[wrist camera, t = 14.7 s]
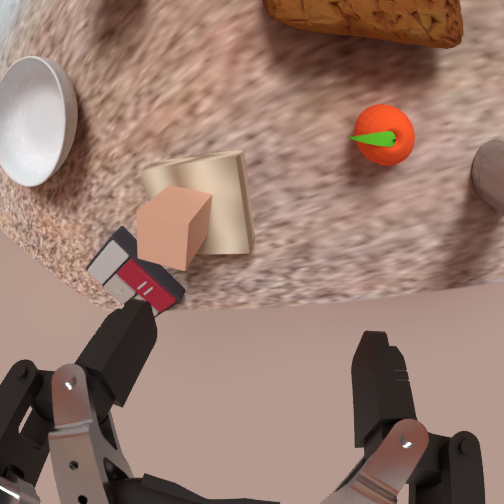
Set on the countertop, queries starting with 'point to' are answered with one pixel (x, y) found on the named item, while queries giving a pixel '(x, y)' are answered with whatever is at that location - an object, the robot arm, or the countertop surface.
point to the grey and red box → (133, 274)
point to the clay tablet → (376, 19)
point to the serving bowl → (36, 119)
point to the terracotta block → (173, 226)
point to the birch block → (223, 196)
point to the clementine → (384, 135)
